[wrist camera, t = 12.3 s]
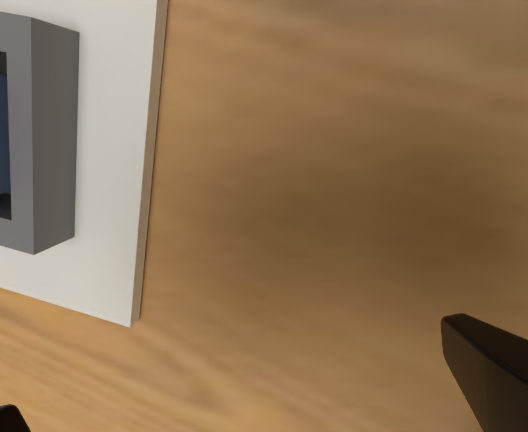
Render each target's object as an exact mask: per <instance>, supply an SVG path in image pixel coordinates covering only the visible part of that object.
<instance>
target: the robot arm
mask: <svg viewBox="0 0 528 432" xmlns="http://www.w3.org/2000/svg"><path fill="white" fill-rule="evenodd" d="M441 334H442V346H443V354H444V357H445V360H446V362H447V364H448V366H449V368H450V370H451V372H452V374H453V376H454V377H455V379H456V381H457V383H458V385H459V387H460V389H461V390H462V392H463V394H464V396H465V398H466V400H467V402H468V403H469V405H470V407H471V409H472V411H473V413H474V415H475V416H476V418H477V420H478V422H479V424H480V426H481V428H482V429H483V431H484V432H528V340H526V339H524V338H522V337H519V336H517V335H514V334H512V333H510V332H507V331H505V330H502V329H500V328H498V327H495V326H493V325H490V324H488V323H486V322H483V321H481V320H478V319H476V318H474V317H471V316H469V315H466V314H463V313H460V314H454V315H450V316H445V317H443V318H442V319H441ZM0 432H31V431H30V429H29V427H28V425H27V424H26V422H25V420H24V418H23V416H22V415H21V413H20V411H19V409H18V408H17V407H16V406H15V405H12V404H8V405H3V406H0Z"/></svg>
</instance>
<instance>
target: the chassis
mask: <svg viewBox="0 0 528 432" xmlns="http://www.w3.org/2000/svg"><path fill="white" fill-rule="evenodd" d="M167 8H168V0H0V72H2V73H7V89H8V120H9V151H10V183H11V192H8V193H4V194H0V287H1V288H4V289H7V290H11V291H14V292H17V293H20V294H24V295H27V296H30V297H33V298H36V299H40V300H43V301H46V302H49V303H53V304H56V305H59V306H62V307H65V308H69V309H72V310H75V311H78V312H82V313H85V314H88V315H91V316H95V317H98V318H101V319H104V320H107V321H111V322H114V323H117V324H120V325H124V326H127V327H131V326H132V325H133V324H134V323H135V322H136V321H137V320H138V319H139V316H140V305H141V294H142V283H143V272H144V261H145V250H146V239H147V228H148V217H149V206H150V195H151V184H152V173H153V162H154V151H155V140H156V129H157V118H158V107H159V96H160V85H161V74H162V63H163V52H164V41H165V30H166V19H167Z"/></svg>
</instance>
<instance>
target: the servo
mask: <svg viewBox="0 0 528 432" xmlns="http://www.w3.org/2000/svg"><path fill="white" fill-rule="evenodd" d="M8 192H11V183H10V151H9V120H8V89H7V73H2V72H0V194H4V193H8Z"/></svg>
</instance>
